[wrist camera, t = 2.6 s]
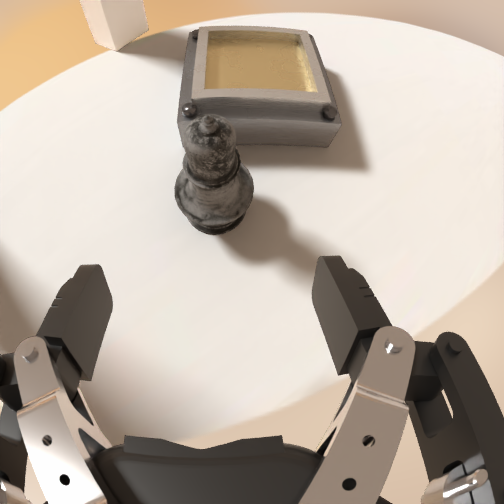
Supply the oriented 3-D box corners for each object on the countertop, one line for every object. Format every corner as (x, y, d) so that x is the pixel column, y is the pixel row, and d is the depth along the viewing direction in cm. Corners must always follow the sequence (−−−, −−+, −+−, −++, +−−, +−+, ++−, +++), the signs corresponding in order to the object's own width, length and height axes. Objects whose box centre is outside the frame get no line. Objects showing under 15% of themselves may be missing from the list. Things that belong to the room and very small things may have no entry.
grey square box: (183, 147, 25) (174, 110, 19) (191, 56, 27) (188, 22, 22) (327, 147, 26) (347, 114, 21) (305, 58, 29) (315, 27, 23)
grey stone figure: (189, 245, 23) (153, 183, 11) (175, 182, 24) (143, 90, 12) (258, 228, 24) (286, 154, 12) (240, 167, 25) (251, 69, 13)
